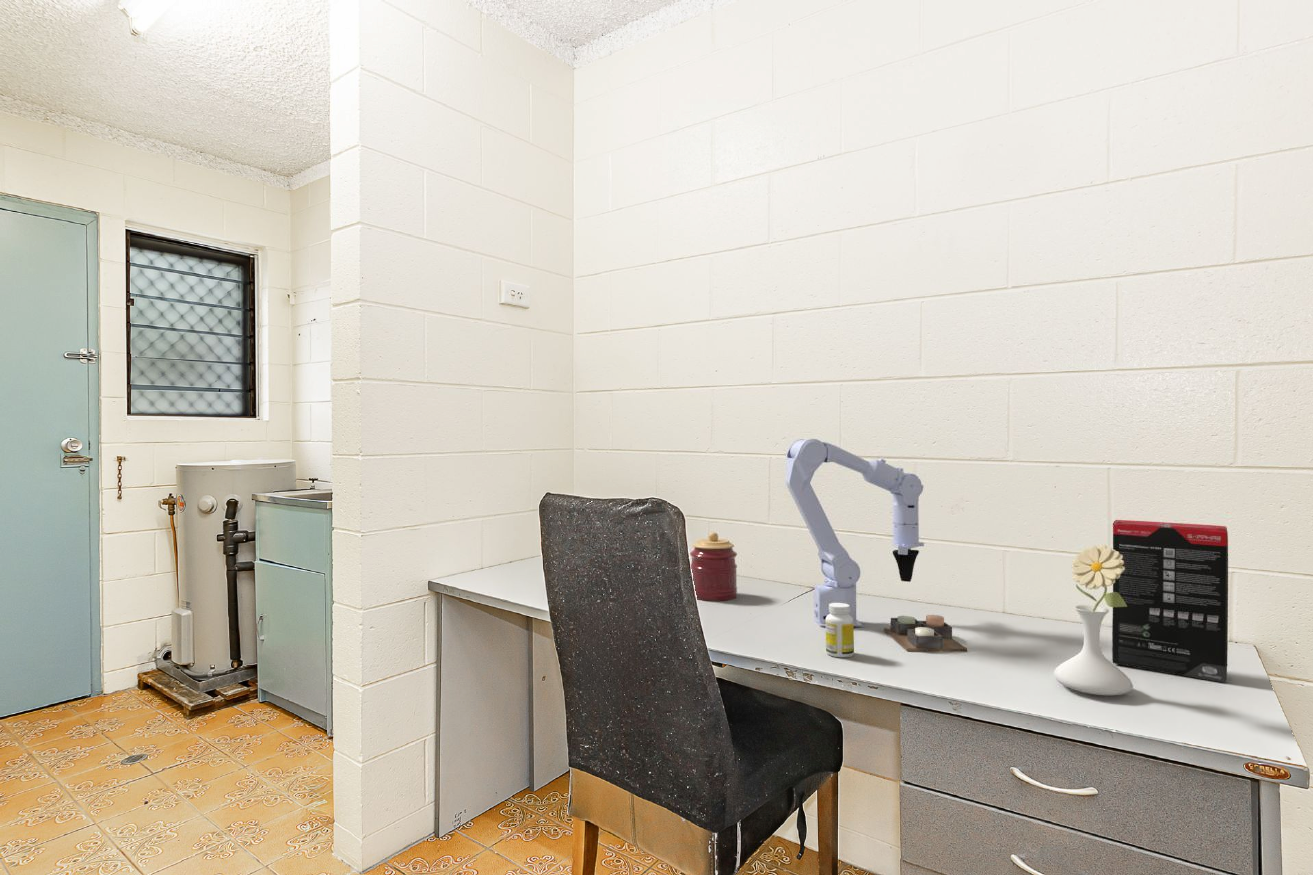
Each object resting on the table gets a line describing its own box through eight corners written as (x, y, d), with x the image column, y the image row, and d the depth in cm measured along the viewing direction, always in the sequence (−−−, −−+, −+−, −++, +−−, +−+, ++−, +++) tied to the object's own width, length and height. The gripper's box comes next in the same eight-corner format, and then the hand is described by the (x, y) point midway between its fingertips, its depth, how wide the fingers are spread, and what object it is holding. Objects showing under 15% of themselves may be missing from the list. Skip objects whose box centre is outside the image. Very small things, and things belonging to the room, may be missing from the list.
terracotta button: (929, 631, 145) (929, 619, 145) (923, 626, 149) (923, 614, 149) (946, 631, 145) (946, 619, 145) (940, 626, 149) (940, 614, 149)
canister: (744, 600, 183) (743, 534, 183) (697, 602, 180) (697, 536, 180) (728, 590, 196) (727, 528, 196) (684, 592, 193) (684, 530, 193)
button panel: (907, 651, 137) (907, 636, 137) (884, 631, 152) (884, 617, 152) (967, 651, 137) (967, 636, 137) (938, 631, 152) (938, 617, 152)
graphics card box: (1228, 675, 123) (1226, 523, 123) (1231, 685, 117) (1228, 527, 118) (1114, 657, 133) (1112, 517, 133) (1111, 666, 128) (1110, 521, 128)
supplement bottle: (854, 651, 137) (854, 602, 137) (853, 659, 132) (852, 609, 132) (826, 649, 139) (826, 601, 139) (824, 656, 134) (824, 606, 134)
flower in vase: (1038, 679, 121) (1037, 538, 121) (1099, 677, 122) (1098, 537, 122) (1091, 707, 108) (1089, 549, 108) (1159, 705, 109) (1157, 548, 109)
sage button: (900, 631, 148) (900, 619, 148) (895, 627, 151) (895, 615, 151) (917, 632, 147) (917, 619, 147) (911, 627, 151) (911, 615, 151)
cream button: (919, 644, 138) (918, 631, 138) (912, 639, 142) (912, 627, 142) (936, 644, 138) (936, 631, 138) (930, 639, 142) (930, 627, 142)
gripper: (921, 527, 153) (921, 588, 153) (925, 521, 166) (926, 576, 166) (888, 526, 156) (888, 585, 156) (895, 519, 169) (895, 574, 169)
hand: (906, 581), depth 161 cm, fingers closed
